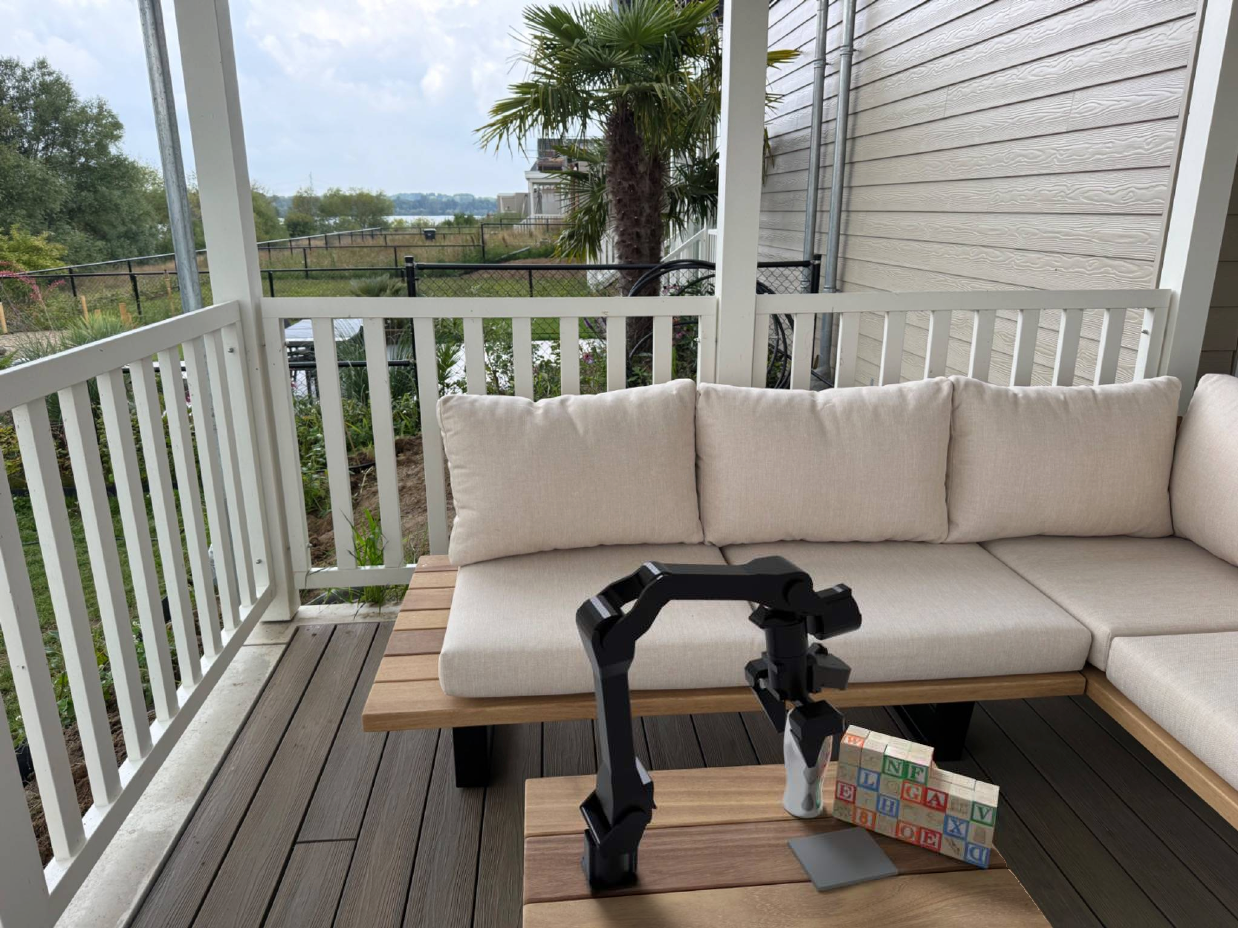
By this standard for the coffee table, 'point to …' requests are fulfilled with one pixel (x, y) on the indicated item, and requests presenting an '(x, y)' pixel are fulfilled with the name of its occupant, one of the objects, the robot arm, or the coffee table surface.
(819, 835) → the charcoal mat
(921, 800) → the stack of blocks
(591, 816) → the robot arm
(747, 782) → the coffee table surface
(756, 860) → the coffee table surface
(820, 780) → the chrome tapered cup
